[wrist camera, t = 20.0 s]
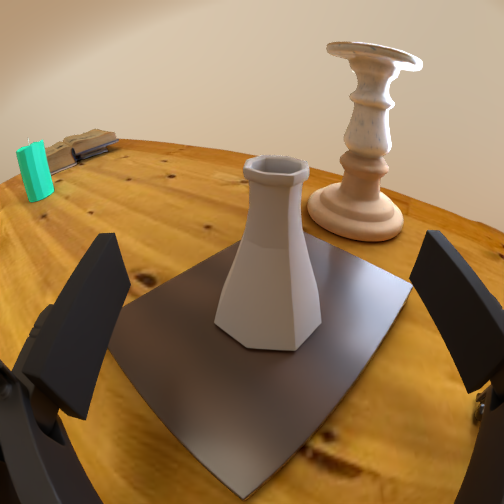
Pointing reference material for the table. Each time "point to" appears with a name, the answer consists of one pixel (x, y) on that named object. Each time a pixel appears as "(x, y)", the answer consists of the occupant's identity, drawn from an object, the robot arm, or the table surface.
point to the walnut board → (252, 362)
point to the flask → (271, 263)
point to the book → (78, 149)
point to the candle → (35, 171)
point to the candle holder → (364, 149)
